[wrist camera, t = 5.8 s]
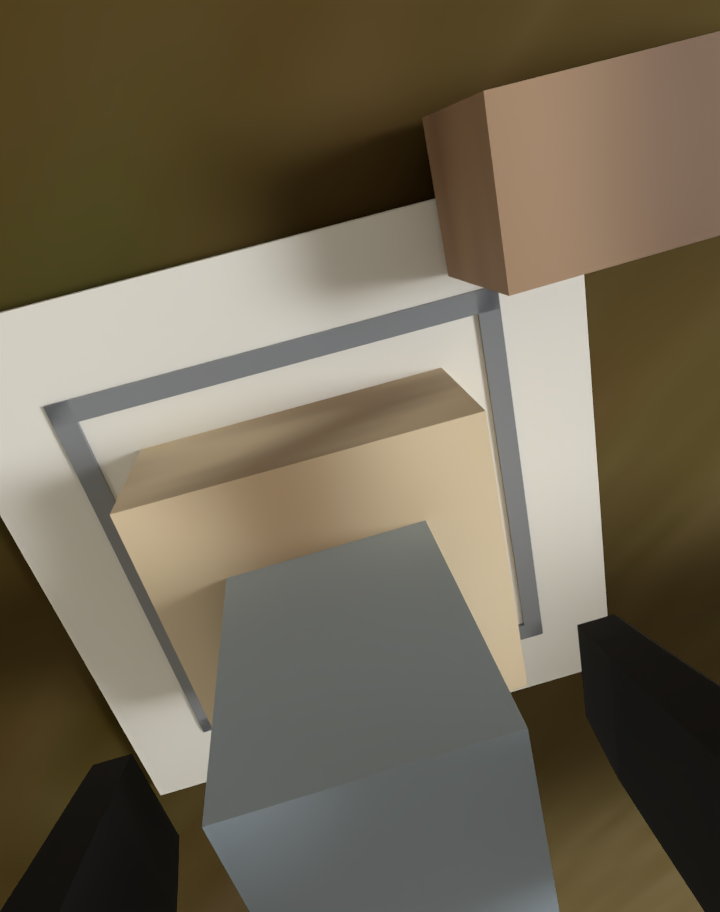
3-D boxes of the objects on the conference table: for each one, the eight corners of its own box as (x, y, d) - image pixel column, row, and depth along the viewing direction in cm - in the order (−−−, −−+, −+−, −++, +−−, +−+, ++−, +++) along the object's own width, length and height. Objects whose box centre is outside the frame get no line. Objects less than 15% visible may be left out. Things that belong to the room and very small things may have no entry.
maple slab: (441, 367, 14) (485, 410, 11) (484, 605, 17) (527, 686, 14) (140, 449, 13) (109, 514, 11) (238, 676, 16) (233, 772, 14)
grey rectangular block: (425, 520, 12) (527, 728, 7) (459, 669, 13) (559, 914, 9) (226, 578, 12) (201, 827, 7) (286, 721, 13) (297, 996, 9)
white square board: (569, 163, 13) (578, 162, 12) (605, 656, 18) (612, 665, 18) (-93, 336, 12) (-104, 340, 12) (162, 786, 18) (160, 798, 18)
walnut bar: (795, 22, 12) (959, -30, 9) (784, 181, 13) (926, 175, 11) (422, 117, 11) (483, 90, 9) (448, 276, 13) (509, 296, 10)
